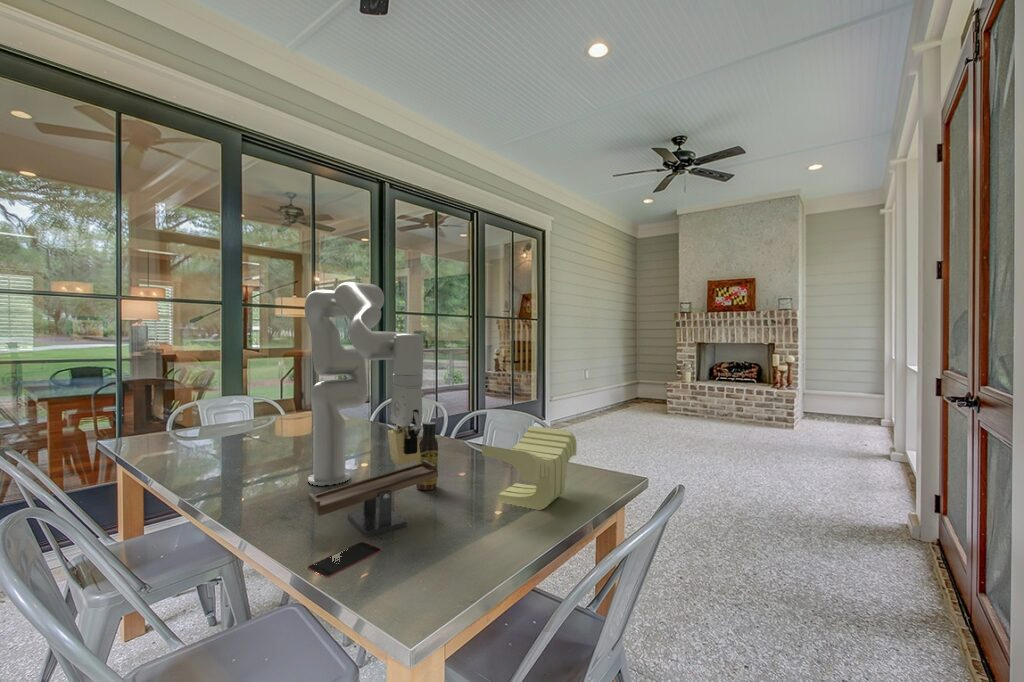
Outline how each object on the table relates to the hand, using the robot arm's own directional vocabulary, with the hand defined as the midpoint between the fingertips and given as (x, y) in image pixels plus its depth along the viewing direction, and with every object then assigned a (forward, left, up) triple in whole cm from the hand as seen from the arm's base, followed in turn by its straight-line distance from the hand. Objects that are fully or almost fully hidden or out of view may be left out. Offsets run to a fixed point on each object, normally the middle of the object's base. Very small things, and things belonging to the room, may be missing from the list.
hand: (406, 450), depth 120 cm
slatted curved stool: (+10, +34, -17) cm, 40 cm away
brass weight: (0, 0, -2) cm, 2 cm away
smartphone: (+14, -20, -17) cm, 30 cm away
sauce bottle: (-16, +14, -17) cm, 27 cm away
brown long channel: (0, -8, -9) cm, 12 cm away
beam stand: (0, -8, -17) cm, 19 cm away
